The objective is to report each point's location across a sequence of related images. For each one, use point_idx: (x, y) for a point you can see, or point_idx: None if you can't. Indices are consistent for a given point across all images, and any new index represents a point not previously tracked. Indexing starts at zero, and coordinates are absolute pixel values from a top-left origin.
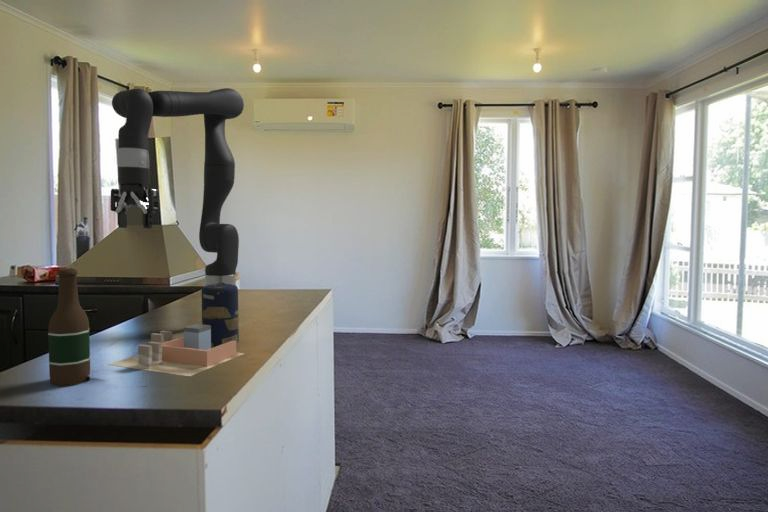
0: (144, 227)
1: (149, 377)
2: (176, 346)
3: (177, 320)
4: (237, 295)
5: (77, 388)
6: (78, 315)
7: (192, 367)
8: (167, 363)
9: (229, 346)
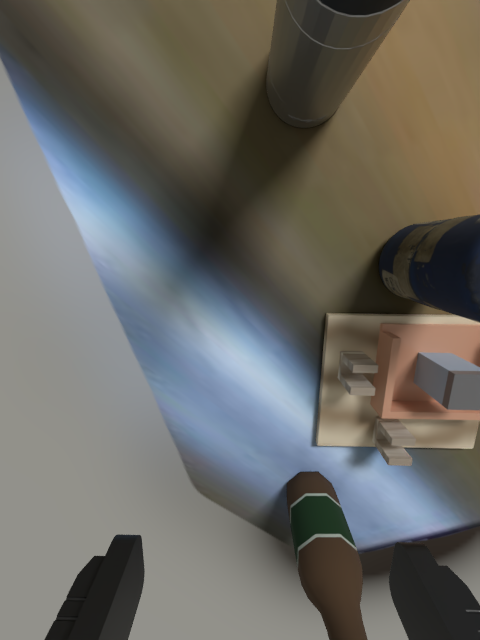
0: (399, 594)
1: None
2: (425, 412)
3: (123, 40)
4: None
5: (341, 504)
6: (361, 593)
7: None
8: None
9: None
